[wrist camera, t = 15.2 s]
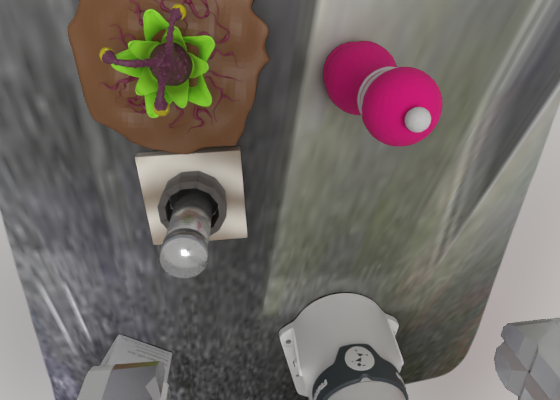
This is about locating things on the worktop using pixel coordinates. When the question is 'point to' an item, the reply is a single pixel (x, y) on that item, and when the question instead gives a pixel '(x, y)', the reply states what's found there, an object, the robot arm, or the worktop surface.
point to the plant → (170, 68)
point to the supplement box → (136, 353)
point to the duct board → (194, 174)
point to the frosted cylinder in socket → (188, 234)
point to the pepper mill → (383, 93)
